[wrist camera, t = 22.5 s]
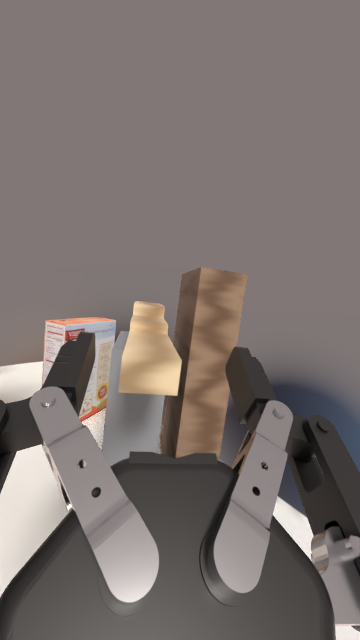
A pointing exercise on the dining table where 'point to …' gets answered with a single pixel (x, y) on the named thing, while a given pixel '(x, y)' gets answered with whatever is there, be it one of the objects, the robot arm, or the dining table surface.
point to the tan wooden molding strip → (149, 354)
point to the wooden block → (203, 360)
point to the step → (129, 415)
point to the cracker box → (104, 343)
